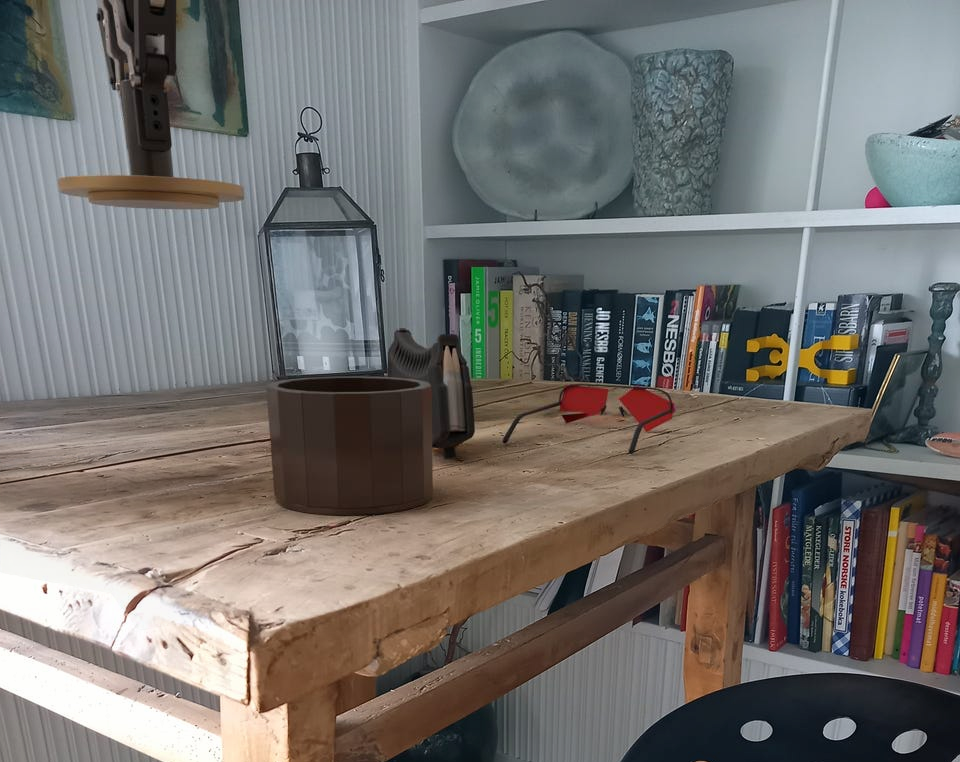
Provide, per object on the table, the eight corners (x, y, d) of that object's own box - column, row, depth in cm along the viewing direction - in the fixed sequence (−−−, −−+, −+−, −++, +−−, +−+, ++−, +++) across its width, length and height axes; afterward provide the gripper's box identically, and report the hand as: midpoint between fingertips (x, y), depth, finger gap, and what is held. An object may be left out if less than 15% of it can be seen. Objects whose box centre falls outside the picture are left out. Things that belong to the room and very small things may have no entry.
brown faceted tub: (310, 522, 65) (302, 396, 62) (254, 490, 74) (245, 380, 71) (460, 503, 70) (459, 388, 67) (389, 476, 80) (387, 374, 77)
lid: (77, 194, 61) (59, 54, 58) (47, 205, 71) (31, 86, 68) (269, 204, 67) (261, 78, 64) (216, 213, 78) (207, 105, 75)
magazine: (381, 339, 111) (429, 255, 82) (408, 339, 112) (465, 256, 83) (392, 484, 112) (442, 452, 83) (418, 483, 113) (477, 451, 84)
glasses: (675, 432, 104) (679, 386, 102) (632, 455, 90) (636, 402, 88) (558, 424, 110) (560, 380, 108) (501, 444, 96) (502, 394, 94)
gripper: (43, -117, 66) (78, 158, 72) (78, -196, 54) (116, 137, 61) (152, -94, 69) (176, 165, 75) (206, -165, 58) (229, 147, 64)
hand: (149, 151), depth 68 cm, fingers closed on lid, 3 cm apart
